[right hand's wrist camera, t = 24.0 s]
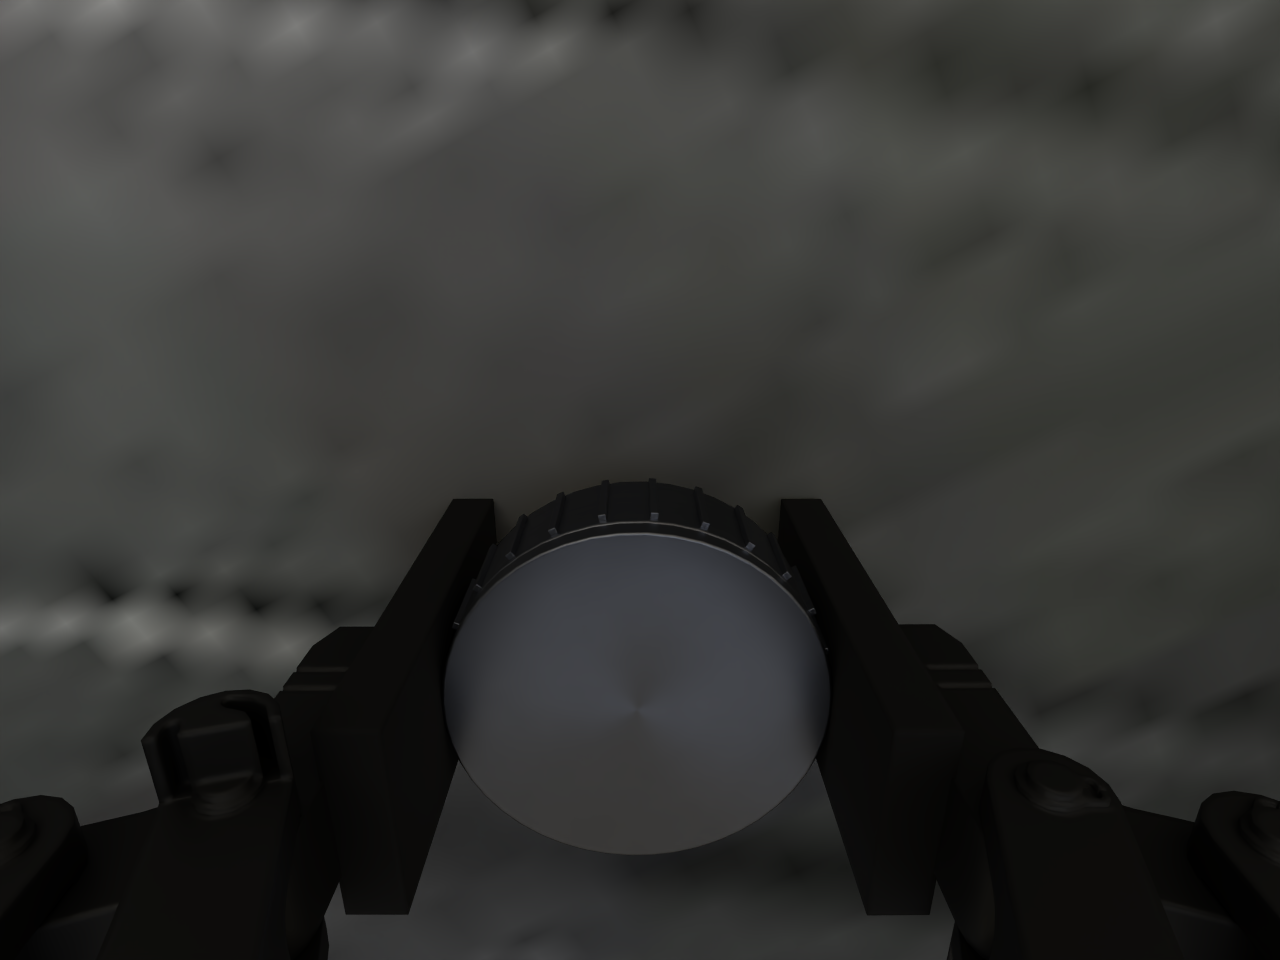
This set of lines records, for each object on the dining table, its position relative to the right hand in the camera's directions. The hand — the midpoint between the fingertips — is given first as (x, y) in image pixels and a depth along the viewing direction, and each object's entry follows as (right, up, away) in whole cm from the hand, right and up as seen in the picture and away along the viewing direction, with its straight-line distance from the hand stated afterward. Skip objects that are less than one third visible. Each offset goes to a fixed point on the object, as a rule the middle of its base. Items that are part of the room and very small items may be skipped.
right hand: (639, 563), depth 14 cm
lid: (0, -1, -4) cm, 4 cm away
